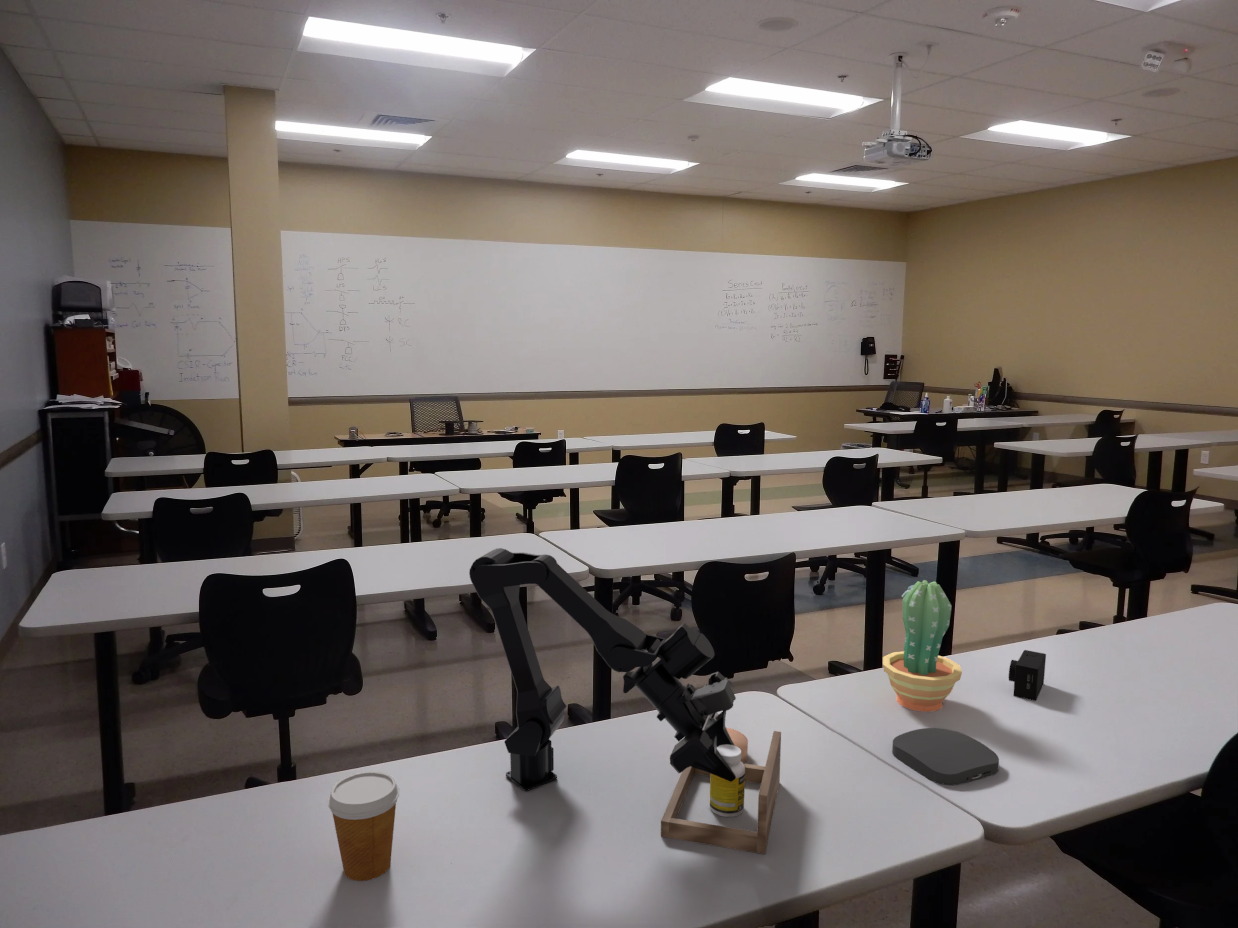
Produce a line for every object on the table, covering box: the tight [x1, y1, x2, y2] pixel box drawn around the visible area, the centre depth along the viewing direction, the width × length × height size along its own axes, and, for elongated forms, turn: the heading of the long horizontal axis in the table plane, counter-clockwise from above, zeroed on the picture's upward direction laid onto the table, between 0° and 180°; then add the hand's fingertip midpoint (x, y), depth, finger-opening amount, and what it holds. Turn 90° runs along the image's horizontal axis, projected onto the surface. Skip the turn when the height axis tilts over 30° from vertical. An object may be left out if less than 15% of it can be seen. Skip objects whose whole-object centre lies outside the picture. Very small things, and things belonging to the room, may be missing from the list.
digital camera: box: [1008, 649, 1047, 702], centre depth 176 cm, size 10×5×7 cm, turn 145°
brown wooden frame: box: [660, 730, 782, 855], centre depth 131 cm, size 15×20×9 cm
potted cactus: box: [882, 579, 963, 713], centre depth 169 cm, size 15×15×25 cm
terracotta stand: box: [726, 727, 749, 764], centre depth 148 cm, size 10×10×3 cm
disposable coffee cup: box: [327, 770, 400, 882], centre depth 116 cm, size 10×10×12 cm
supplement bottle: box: [708, 744, 746, 818], centre depth 131 cm, size 5×5×10 cm
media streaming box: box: [891, 727, 1000, 786], centre depth 147 cm, size 15×15×3 cm
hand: (736, 770), depth 131 cm, fingers closed on supplement bottle, 5 cm apart
